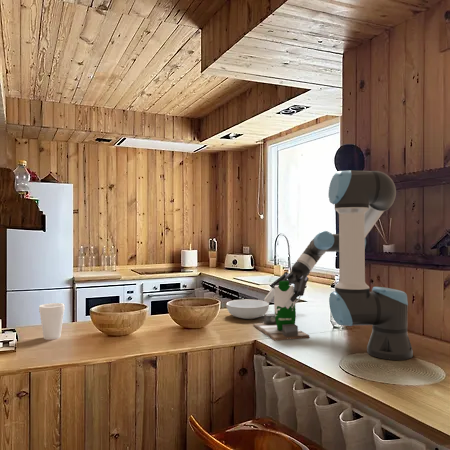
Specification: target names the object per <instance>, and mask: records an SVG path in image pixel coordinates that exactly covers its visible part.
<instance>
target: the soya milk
mask: <svg viewBox="0 0 450 450" xmlns="http://www.w3.org/2000/svg"><path fill="white" fill-rule="evenodd" d="M274 289H275V292H274V297H273V302H274V303H273V304H274V305H273V307H274V314H275V320H276V325H277V330H283V325H287V324H295V325H296V319H297V318H296V317H297V315H296V313H297V312H296V304H295V302H296V300H295V301H294V302H293V303H292V304H291V306H290V307H289V309H287V308H286V307H285V306H284V305H283V304H284V303H285V301H286V300H287V299H288V297H289V296H290V295H291V293H292V292H293V291H294V284H291V285H289V281H279V285H276V286H275V287H274ZM293 293H294V292H293Z"/></svg>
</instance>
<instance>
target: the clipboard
mask: <svg viewBox="0 0 450 450" xmlns="http://www.w3.org/2000/svg"><path fill="white" fill-rule="evenodd" d="M252 325H253V327H254V328H256V329H257V330H259V331H260V332H261V333H263V334H265V335H266V336H267V337H269V338H270V339H272V340H274V341H284V340H297V339H309V338H310V335H309V334H308V333H306V332H304V331H302V330H300V329H299V326H298V325H296V323H295V324H287V325H283V330H277V325H276V320H275V313H265V314H264V315H263V322H262V323H261V322H260V323H253V324H252Z"/></svg>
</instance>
